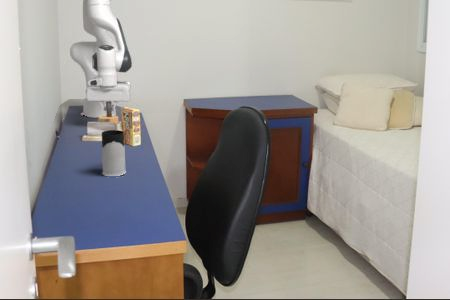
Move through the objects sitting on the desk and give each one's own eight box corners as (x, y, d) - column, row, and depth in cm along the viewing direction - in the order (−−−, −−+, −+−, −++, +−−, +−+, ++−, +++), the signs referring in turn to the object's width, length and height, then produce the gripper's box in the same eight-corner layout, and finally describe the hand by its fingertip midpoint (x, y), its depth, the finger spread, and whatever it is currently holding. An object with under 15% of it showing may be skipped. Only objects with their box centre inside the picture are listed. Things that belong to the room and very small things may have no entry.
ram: (101, 126, 255) (100, 101, 252) (118, 126, 255) (117, 101, 252) (99, 128, 249) (98, 103, 246) (116, 129, 249) (115, 103, 246)
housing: (99, 131, 244) (99, 118, 242) (110, 132, 244) (110, 119, 242) (97, 134, 240) (97, 121, 238) (109, 134, 240) (108, 121, 238)
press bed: (94, 128, 257) (93, 113, 255) (127, 129, 257) (127, 113, 255) (82, 140, 234) (81, 124, 232) (118, 141, 234) (118, 124, 232)
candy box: (141, 145, 229) (140, 109, 225) (133, 146, 226) (132, 110, 222) (129, 141, 235) (128, 106, 231) (121, 142, 232) (120, 107, 228)
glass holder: (102, 178, 184) (100, 136, 180) (100, 166, 197) (98, 127, 193) (128, 176, 186) (126, 134, 182) (124, 165, 199) (122, 125, 196)
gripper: (131, 80, 251) (132, 109, 255) (87, 80, 251) (89, 109, 254) (129, 82, 245) (130, 112, 248) (84, 81, 244) (85, 111, 248)
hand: (109, 110), depth 251 cm, fingers open, 3 cm apart
